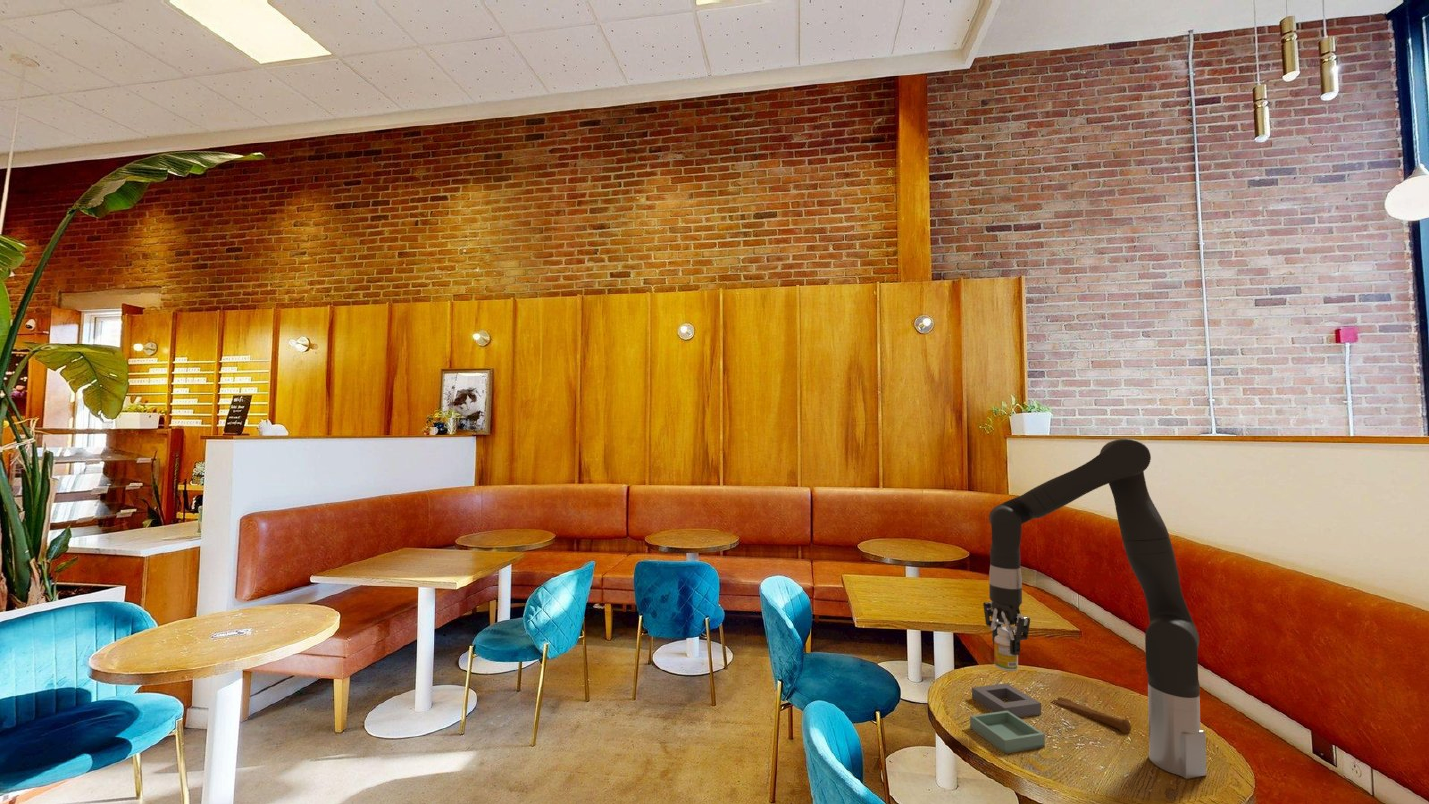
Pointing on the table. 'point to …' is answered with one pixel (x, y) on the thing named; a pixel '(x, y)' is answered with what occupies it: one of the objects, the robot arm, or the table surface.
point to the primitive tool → (1095, 715)
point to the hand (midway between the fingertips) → (1006, 649)
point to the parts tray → (1007, 731)
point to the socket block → (1019, 700)
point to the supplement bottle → (1004, 651)
